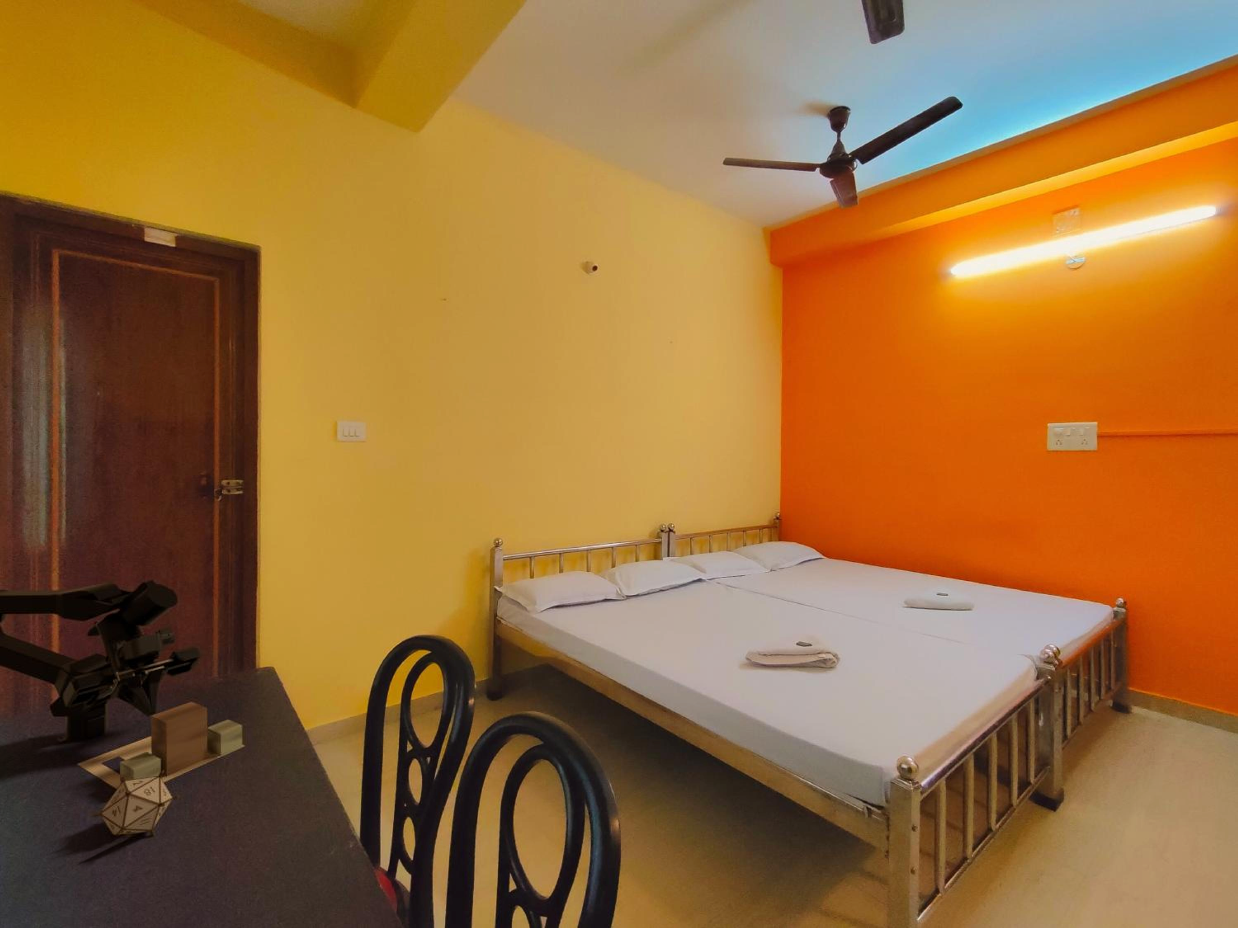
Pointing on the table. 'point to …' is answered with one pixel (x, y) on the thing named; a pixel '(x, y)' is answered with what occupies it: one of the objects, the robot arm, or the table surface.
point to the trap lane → (129, 754)
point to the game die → (136, 805)
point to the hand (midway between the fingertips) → (152, 714)
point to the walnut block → (179, 737)
